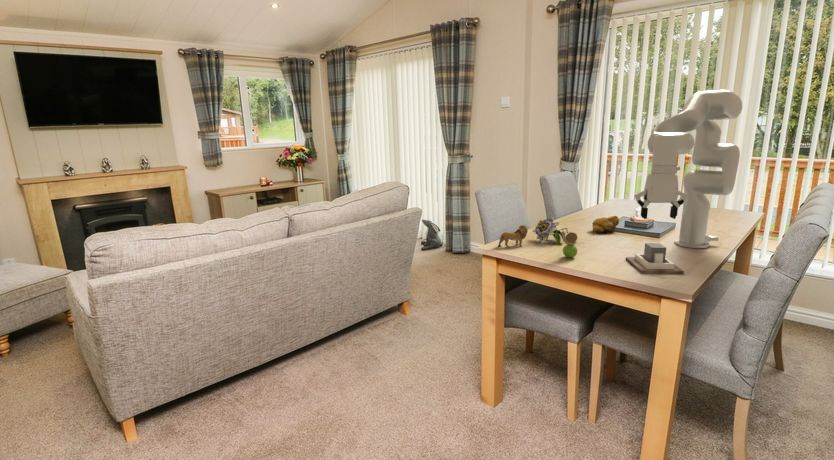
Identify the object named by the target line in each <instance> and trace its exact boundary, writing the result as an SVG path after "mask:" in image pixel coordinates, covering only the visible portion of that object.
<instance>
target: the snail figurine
mask: <svg viewBox="0 0 834 460" xmlns="http://www.w3.org/2000/svg"><path fill="white" fill-rule="evenodd" d="M561 229H562V230H561V232H562V236H563V239H562V241H564V242H563V243H565V245H564V246H563V248H562V253H563V256H564V257H566V258H568V259H569V258H570V259H571V258H574V257H576V256H577V255H578V248H577V246H575V244H577V242H578V241H577V240H578V235H577V233H576V232H574V231H570V232H568V233H567V232H566V231H564V230H565V229H564V228H561Z"/></svg>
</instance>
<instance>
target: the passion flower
mask: <svg viewBox="0 0 834 460" xmlns="http://www.w3.org/2000/svg"><path fill="white" fill-rule="evenodd" d="M554 219H555V217H554V216H551V217H550V218H546V219H541V220H539V221H538V223H537V224H536V226H535V229H533V230H532V233H535V235H537V236H536V240H538V243H541V242H543V241H544V242H546V241H548V239H549V236H553V238H554V239H555V241H556V244H557V245H561V242H562V241H563V236H562V231H563V230H562V228H561V229H558V226H559V225H560V222H559V221H556V222H554ZM563 229H564V230H566V234H568V233H569V230H568V228H567V227H565V228H563ZM563 243H565V242H564V241H563Z"/></svg>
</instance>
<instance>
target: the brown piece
mask: <svg viewBox="0 0 834 460" xmlns="http://www.w3.org/2000/svg"><path fill="white" fill-rule="evenodd" d="M625 260H626V262H628V263H629V264H630V265H631V266H632V267H634V268H635V270H637V271H638V272H639V273H640V274H651V275H652V274H657V275H659V274H662V275H663V274H666V275H667V274H668V275H669V274H670V275H675V274H676V275H684V273H685V271H684V270H683V269H682V268H680V267H679V266H678V265H676V264H675V263H674V262H673V261H671V260H670V259H668V258H667V257H665V263H649V262H648V261H647V260H645V259H644V253H634V256H626V257H625Z"/></svg>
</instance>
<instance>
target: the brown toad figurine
mask: <svg viewBox="0 0 834 460" xmlns="http://www.w3.org/2000/svg"><path fill="white" fill-rule="evenodd" d="M619 223H620V218H619V217H618V216H617V215H614V216H613V215H612V216H608V217H600V218H599V217H598V218H596V219H594V220H593V221H592V231H593V233H598V234H604V233H606V234H607V233H613V232H614V231H615V230H616V228H617V227H618V225H619Z"/></svg>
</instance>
